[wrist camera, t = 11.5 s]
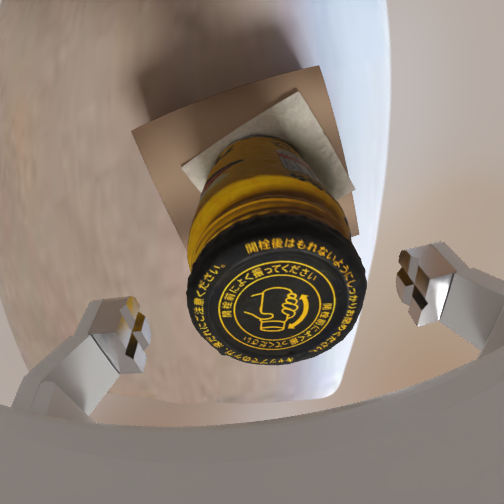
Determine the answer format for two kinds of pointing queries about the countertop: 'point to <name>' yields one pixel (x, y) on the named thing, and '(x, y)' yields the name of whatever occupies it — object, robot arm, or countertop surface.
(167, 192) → the walnut block
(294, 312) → the condiment
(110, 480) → the robot arm
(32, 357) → the countertop surface
